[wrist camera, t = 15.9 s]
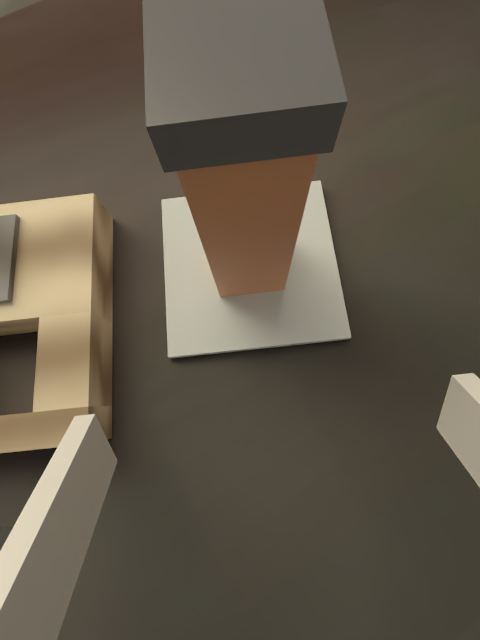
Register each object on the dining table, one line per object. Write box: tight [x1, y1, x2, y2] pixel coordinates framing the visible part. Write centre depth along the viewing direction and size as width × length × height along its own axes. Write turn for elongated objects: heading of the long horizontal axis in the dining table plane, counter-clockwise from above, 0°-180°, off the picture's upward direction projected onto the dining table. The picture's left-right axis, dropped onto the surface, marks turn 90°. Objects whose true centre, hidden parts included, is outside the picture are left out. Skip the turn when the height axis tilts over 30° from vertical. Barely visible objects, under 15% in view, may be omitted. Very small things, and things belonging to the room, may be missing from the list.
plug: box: [143, 0, 348, 297], centre depth 15 cm, size 5×5×14 cm
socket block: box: [0, 193, 113, 453], centre depth 20 cm, size 16×12×3 cm
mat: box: [162, 181, 351, 359], centre depth 22 cm, size 12×12×1 cm
